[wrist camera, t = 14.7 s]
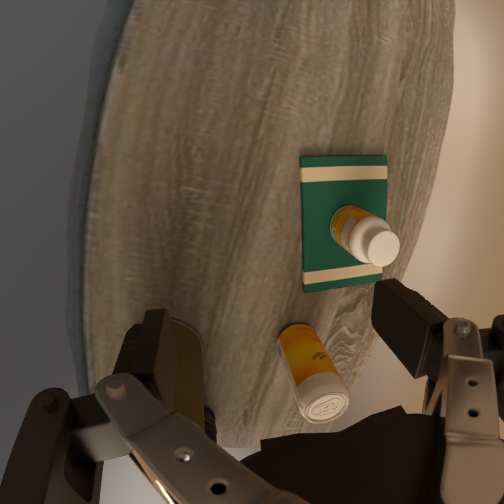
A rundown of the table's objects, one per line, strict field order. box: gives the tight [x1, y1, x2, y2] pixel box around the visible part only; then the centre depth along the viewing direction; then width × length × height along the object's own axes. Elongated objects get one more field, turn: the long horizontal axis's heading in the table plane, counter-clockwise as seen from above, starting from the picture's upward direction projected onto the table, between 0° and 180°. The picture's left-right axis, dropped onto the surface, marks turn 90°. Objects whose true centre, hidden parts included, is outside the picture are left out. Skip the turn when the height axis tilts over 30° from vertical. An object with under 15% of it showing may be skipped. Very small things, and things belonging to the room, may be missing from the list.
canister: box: [170, 319, 205, 433], centre depth 35 cm, size 11×10×20 cm
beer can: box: [277, 324, 349, 424], centre depth 39 cm, size 6×6×15 cm
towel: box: [299, 155, 387, 293], centre depth 41 cm, size 18×12×1 cm, turn 4°
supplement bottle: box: [330, 206, 399, 267], centre depth 36 cm, size 5×5×10 cm
